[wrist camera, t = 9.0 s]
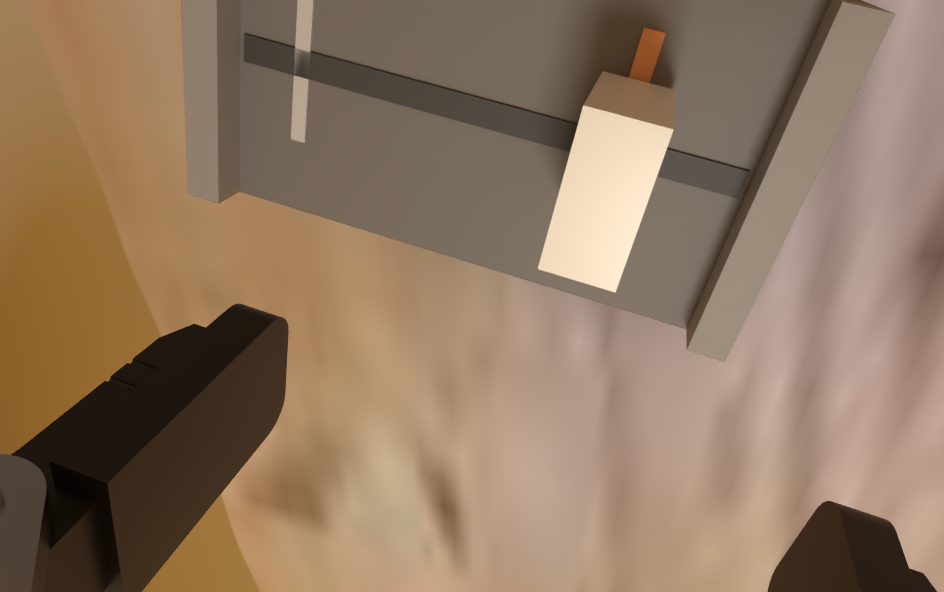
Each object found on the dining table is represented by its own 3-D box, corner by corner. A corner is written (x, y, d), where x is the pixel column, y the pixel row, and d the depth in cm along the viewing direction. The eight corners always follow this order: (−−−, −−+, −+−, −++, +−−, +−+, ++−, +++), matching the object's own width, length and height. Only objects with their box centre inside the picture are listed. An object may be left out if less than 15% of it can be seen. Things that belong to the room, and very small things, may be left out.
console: (253, -141, 25) (175, -154, 21) (858, -1, 22) (895, 14, 18) (248, 162, 31) (187, 194, 27) (719, 303, 28) (724, 362, 24)
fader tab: (602, 71, 22) (583, 105, 17) (675, 89, 21) (673, 129, 17) (563, 209, 24) (537, 269, 20) (627, 228, 24) (615, 292, 20)
